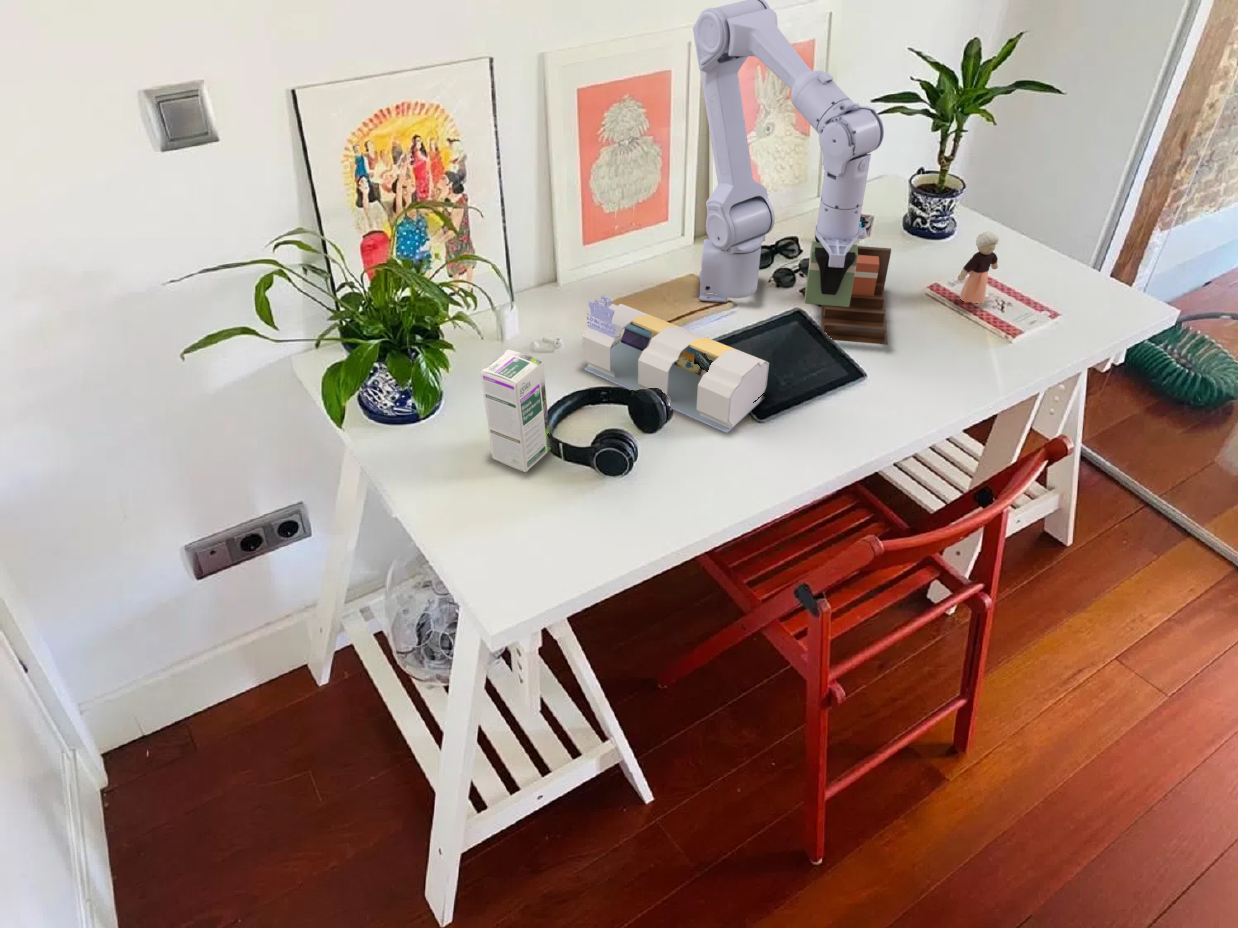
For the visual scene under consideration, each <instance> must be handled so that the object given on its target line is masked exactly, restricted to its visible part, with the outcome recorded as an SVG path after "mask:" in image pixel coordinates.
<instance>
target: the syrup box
mask: <svg viewBox="0 0 1238 928" xmlns="http://www.w3.org/2000/svg"><path fill="white" fill-rule="evenodd" d="M480 379H481V386H482V393H483V402H484V408H485V415H486V416H485V417H486V422H487V427H488V428H487V429H488V436H489V444H490V452H491V457H492V459H493V460H495V461H497V462H499V463H501V464H503V465H506V466H509V467H510V468H513V469H515V470H518V471H520V472H523V473H528V472H529V470H530V469H531V468H533V467H534V466H535V465H536V464H537V463H538V462H539V461H540V460H541V459H543V457H544V456H545V455H546V454H548V452H549V451H551V448H550V447H548V445H547V434H548V433H549V434H550V427H549V415H548V402H547V392H546V380H545V379H546V378H545V367H544V362H543V361H542V360H540V359H537V358H535V357H533V356H531V355H528V354H526V353H522V352H519V351H516V350H512V349H506V350H505V352H504V353H503V354H501V355H500V356H499V357H497V358H496V359H494V360H493V361H492V362H490V364H488V365H487V366H486V367H484V368H483V369H482V370H481V371H480Z"/></svg>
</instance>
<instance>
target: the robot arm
mask: <svg viewBox="0 0 1238 928" xmlns="http://www.w3.org/2000/svg"><path fill="white" fill-rule="evenodd" d="M692 32H693V38H694V45H695V51H696V56H697V57H696V58H697V64H698V69H699V73H700V79H701V86H702V92H703V98H704V105H705V111H706V117H707V124H708V130H709V136H710V141H711V142H710V143H711V149H712V154H713V161H714V167H715V173H716V180H717V186H716V187H715V189H714V190H713V191H712V193H711V194H710V196H709V197H708V198H707V200H706V202H705V207H706V220H705V231H706V234H707V237H708V238H704V240H703V245H702V251H701V266H700V268H701V269H700V271H699V278H698V279H699V280H698V282H699V283H700V285H699V298H698V299H699V301H700V302H701V301H702V302H714V303H725V304H726V303H728V301H727V300H728V298H730V299H731V298H732V299H743V298H744V299H745V298H748V297H750V296H753V295H754V294H755V293H756V292H757V290H758V283H759V273H760V264H761V253H762V244H763V243H764V242H765V241H766V237H767V236H766V235H767V234H769V233H770V232H771V231H772V230H773V229H774V227H775V211H774V208H773V206H772V204H771V201H770V199H769V195H768V189H767V187H765V186H764V185H763V184H761V183H760V182H758V181H757V180H755V179H754V177H753V169H752V162H751V155H750V147H749V142H748V135H747V134H748V133H747V127H746V121H745V120H746V119H745V114H744V108H743V107H744V106H743V101H742V93H741V87H740V79H739V71H740V70H741V67H742V66H743V65H744V63H745V62H746V60H747V59H748V58H749V57H755V58H757V59H758V60H759V61H760V62H761V63H762V64H763V65H764V66H765V67H766V68H767V69H768V70H770V71H771V72H772V73H773V74H774V76H776V77H777V79H779V80H780V81H781V82H783V84H785V85H786V87H788V89H790V90H791V95H790V100H791V105H792V106H793V107H794V108H795V109H796V110H797V112H798V113H799V114H800V115H801V116H802V117H803V118H804V119H805V120H806V121H807V123H809V125H810V126H811V127H812V128H813V129H814V131H816V133H817V134H818V142H819V146H820V147H819V148H820V150H821V153H822V163H821V165H822V167H823V171H824V172H823V177H822V178H823V179H822V187H821V195H820V201H819V208H818V217H817V224H816V225H815V226H814V227H815V228H814V239H815V242H820V243H821V244H822V245H823V247H824V248H819V247H815V258H816V261H817V263H818V266H819V270H820V285H821V293H822V294H828V295H836V293H837V292H838V289H839V287H840V285H841V282H842V279H843V277H844V275H845V273H846V271H847V270H848V268H849V267H850V266H851V265H852V264H853V263H854V261H855V258H856V253H855V252H848V251H849V250H850V248H851V247H852V246H853V245H855V243H856V242H857V240H865V239H866V238H867V229H866V228H864V227H860V223H861V216H862V211H863V204H864V199H865V192H866V186H867V180H868V176H869V175H868V174H869V169H870V163H871V158H872V157H871V156H872V152H873V151H876V150H878V149H879V148H880V147H881V145H882V142H883V140H884V136H885V130H884V124H883V120H882V119H881V117H880V115H879V114H878V113H877V111H876V109H875V108H873V107H871V106H865V105H861V104H859V103H855V102H854V101H853V100H852V99H851V98H849V96H848V95H847V94H846V93H845V92H844V91H843V90H842V89H841V88H840V87H839V85H838V84H837V83H835V81H834V77H833V76H832V75H831V74H830V72H826V71H824V70H811V68H810V67H809V66H808V65H807V63H806V62H805V60H804V59H803V58H802V57H801V55H800V54H799V53H798V52H797V51H796V49H795V48H794V46H793V45H792V44H791V43H790V42H789V40H788V39H787V37H786V36H785V35H784V34H783V32H782V30H780V29H779V27H778V15H777V13H776V11H775V10H774V9H772V8H771V7H770V6H769V4H768V2H767V1H766V0H742V1H737V2H733V3H729V4H725V5H721V6H716V7H708V8H704V10H702V11H701V12H700V14H699V16H698V17H697V20H696V21H695V23H694V25H693V27H692ZM704 293H713V294H704ZM716 294H717V295H716Z"/></svg>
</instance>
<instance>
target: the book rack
mask: <svg viewBox="0 0 1238 928" xmlns="http://www.w3.org/2000/svg"><path fill="white" fill-rule="evenodd" d="M857 248H858V255H866V256H879V269H878V275H877V280H876V286H875V291H874V296H865V295H852V294H851V299H850V305H849V307H844V306H830V305H820V309H821V310H820V312H821V313H820V330H821V329H822V330H823V331H824V332H826V333H827V335H828V336H830V338H832V340H831V341H836V342H837V341H839V342H851V343H862V344H872V345H873V344H874V345H887V346H888V345H889V340H888V329H887V327H888V326H887V316H886V314H887V313H886V302H885V285H886V280H887V276H888V275H887V274H888V270H889V265H890V259H891V254H892V248H889V247H877V246H875V247H874V246H863V245H862V246H861V245H857Z"/></svg>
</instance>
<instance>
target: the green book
mask: <svg viewBox="0 0 1238 928" xmlns="http://www.w3.org/2000/svg"><path fill="white" fill-rule="evenodd" d="M810 246H811V247H810V253H809V260H808V262H809V263H808V268H807V277H806V283H805V289H804V290H805V291H804V304H806V305H816V306H817V305H818V306H821V305H830V306H844V307H849V305H850V299H851V293H852V287H853V281H854V275H855V270H856V263H857V257H858V248H857V246H858V244H853V246H852V247H851V248H850V250H849V251H848V252H855V253H856V258H855V261H854V263H853V264H852V265H851V266H850V267H849V268H848V270H847V271H846V273H845V275H844V277H843V279H842V282H841V285H840V287H839V289H838V292H837V293H836V295H828V294H822V293H821V285H820V270H819V266H818V263H817V261H816V258H815V247H819V248H824V247H823V245H822V244H821V243H820V242H816V241H812V242H811V245H810Z"/></svg>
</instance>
